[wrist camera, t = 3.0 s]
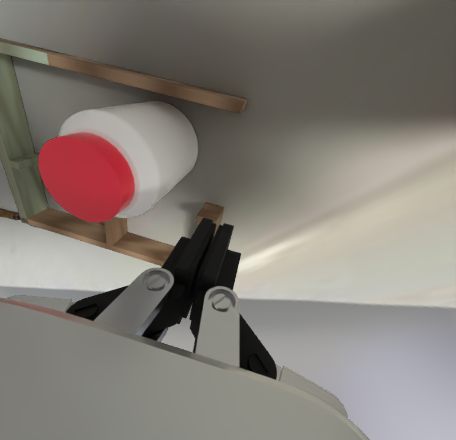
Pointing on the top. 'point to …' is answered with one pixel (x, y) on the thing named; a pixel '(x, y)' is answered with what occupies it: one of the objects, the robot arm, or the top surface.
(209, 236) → the robot arm
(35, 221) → the wooden frame
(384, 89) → the top surface
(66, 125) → the pill bottle
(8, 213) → the can opener
